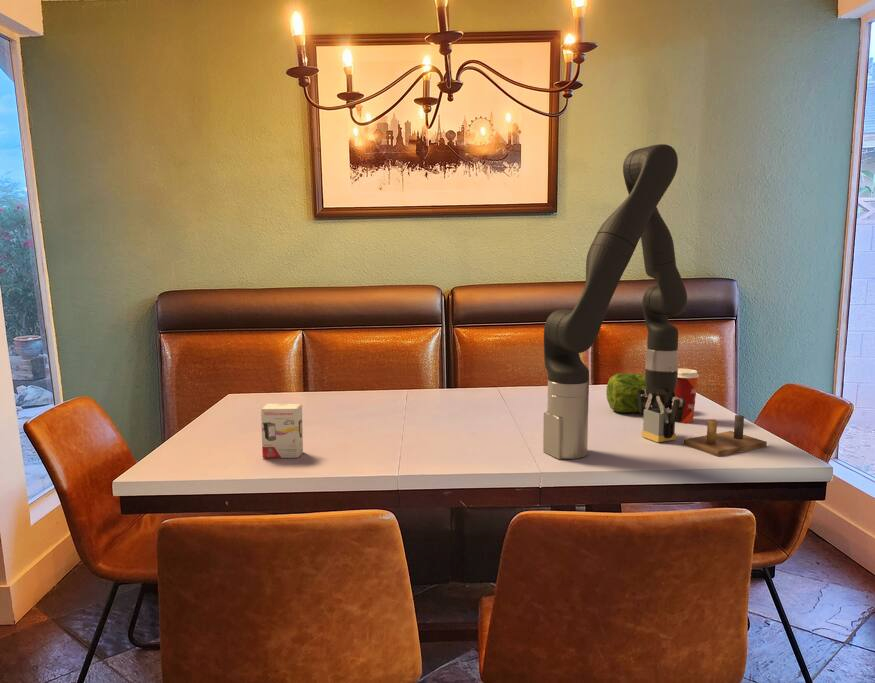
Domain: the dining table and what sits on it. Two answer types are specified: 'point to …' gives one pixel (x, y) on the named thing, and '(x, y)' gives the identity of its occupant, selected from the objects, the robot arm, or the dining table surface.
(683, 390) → the paper cup
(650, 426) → the sleeve
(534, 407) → the dining table surface
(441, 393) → the dining table surface
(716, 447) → the pin board
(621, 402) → the lettuce
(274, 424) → the ink box
